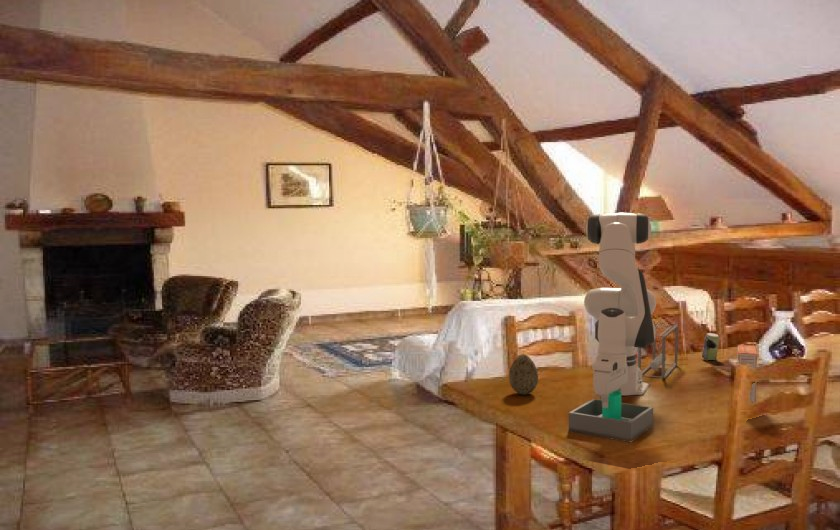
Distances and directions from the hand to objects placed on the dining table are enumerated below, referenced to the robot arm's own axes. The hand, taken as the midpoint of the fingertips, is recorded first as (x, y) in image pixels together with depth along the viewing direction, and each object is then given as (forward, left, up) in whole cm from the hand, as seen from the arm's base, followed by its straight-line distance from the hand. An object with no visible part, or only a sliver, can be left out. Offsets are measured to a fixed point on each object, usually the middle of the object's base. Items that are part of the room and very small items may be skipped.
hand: (611, 403), depth 243 cm
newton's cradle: (-87, -13, -8) cm, 89 cm away
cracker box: (-46, +30, -8) cm, 56 cm away
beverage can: (-120, -1, -8) cm, 120 cm away
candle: (0, 0, -7) cm, 7 cm away
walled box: (0, 0, -8) cm, 8 cm away
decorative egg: (-23, -43, -8) cm, 49 cm away
